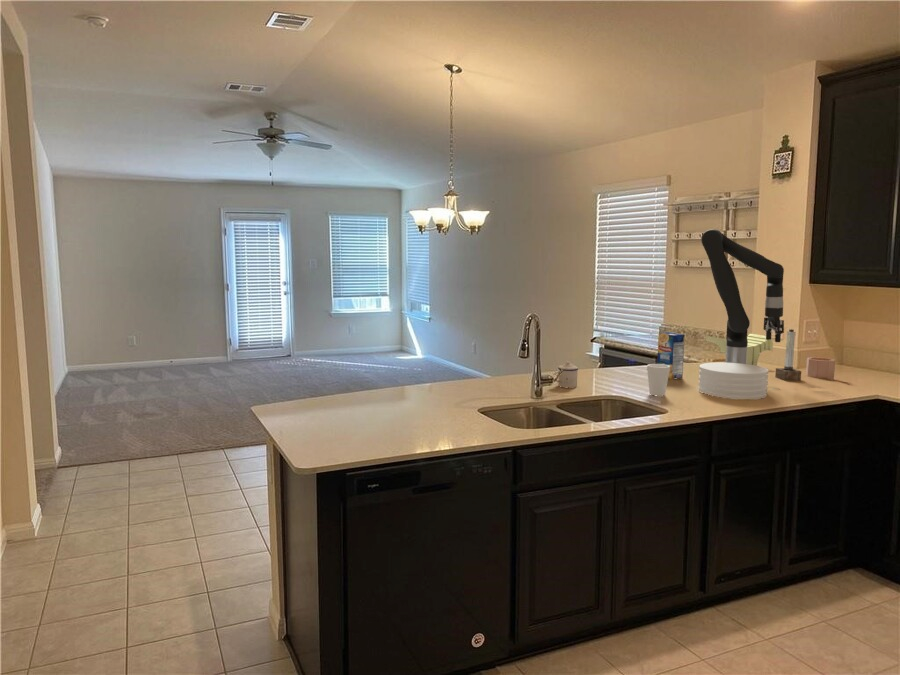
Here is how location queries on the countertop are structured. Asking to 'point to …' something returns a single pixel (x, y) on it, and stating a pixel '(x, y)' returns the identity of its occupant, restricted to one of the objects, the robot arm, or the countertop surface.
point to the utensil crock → (820, 367)
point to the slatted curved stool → (753, 348)
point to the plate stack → (733, 380)
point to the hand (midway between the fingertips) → (773, 340)
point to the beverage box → (671, 352)
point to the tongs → (789, 350)
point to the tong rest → (788, 374)
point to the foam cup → (658, 378)
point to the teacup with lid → (567, 375)
